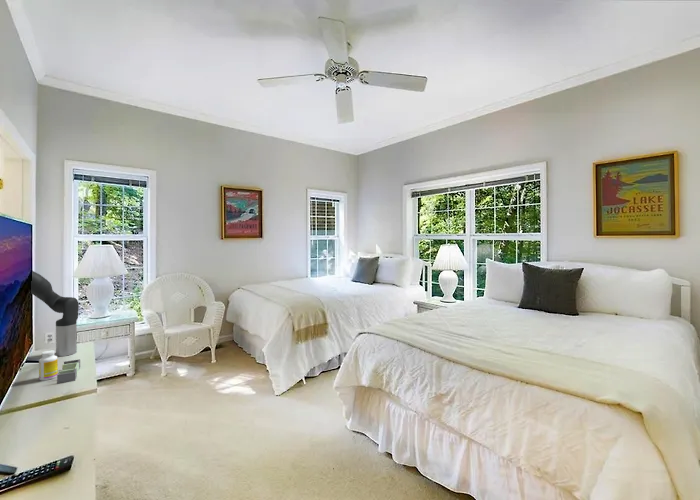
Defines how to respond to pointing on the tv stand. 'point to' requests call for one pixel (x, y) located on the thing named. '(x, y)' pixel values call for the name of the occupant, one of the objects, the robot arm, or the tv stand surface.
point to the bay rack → (68, 371)
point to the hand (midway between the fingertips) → (8, 356)
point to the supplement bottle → (48, 365)
